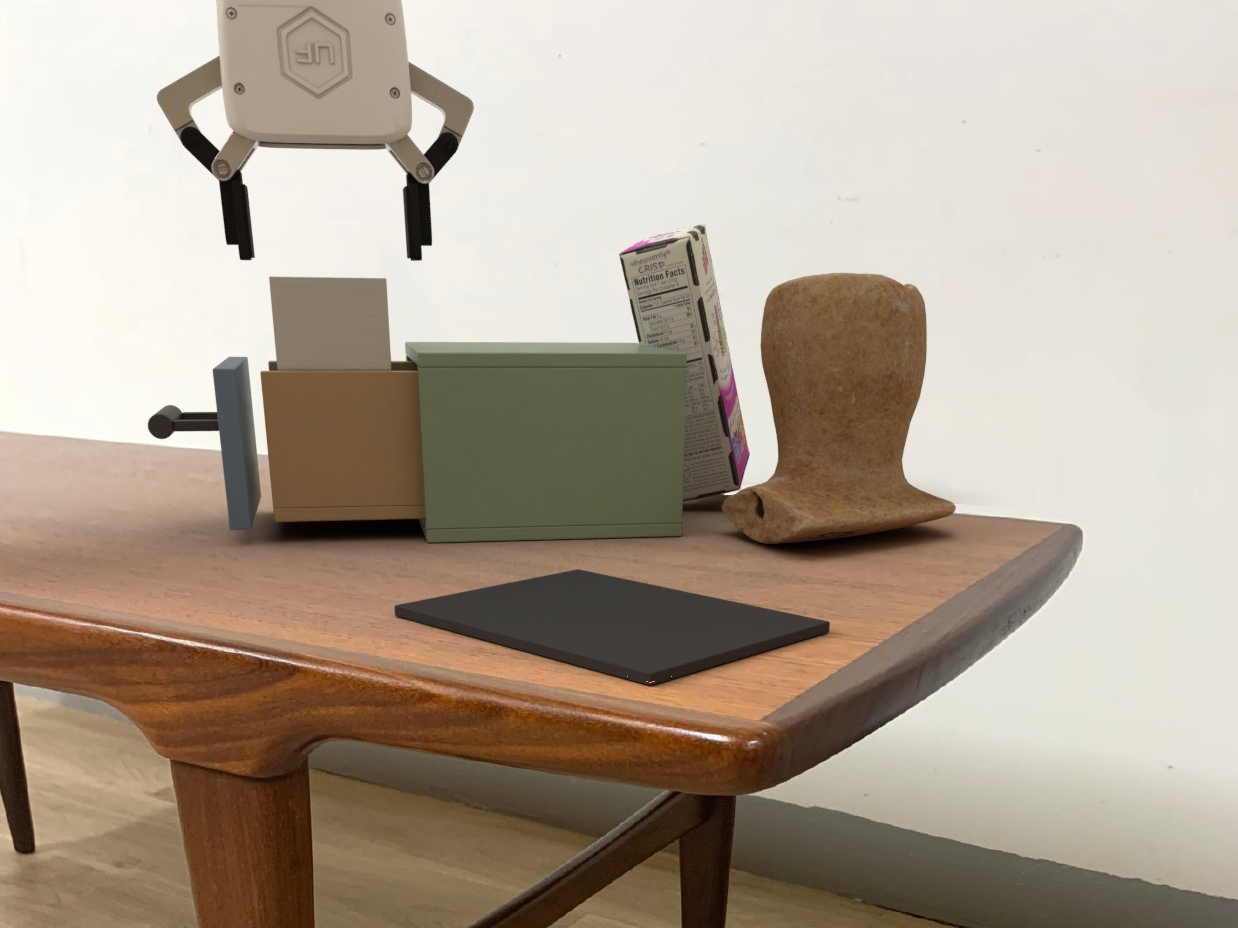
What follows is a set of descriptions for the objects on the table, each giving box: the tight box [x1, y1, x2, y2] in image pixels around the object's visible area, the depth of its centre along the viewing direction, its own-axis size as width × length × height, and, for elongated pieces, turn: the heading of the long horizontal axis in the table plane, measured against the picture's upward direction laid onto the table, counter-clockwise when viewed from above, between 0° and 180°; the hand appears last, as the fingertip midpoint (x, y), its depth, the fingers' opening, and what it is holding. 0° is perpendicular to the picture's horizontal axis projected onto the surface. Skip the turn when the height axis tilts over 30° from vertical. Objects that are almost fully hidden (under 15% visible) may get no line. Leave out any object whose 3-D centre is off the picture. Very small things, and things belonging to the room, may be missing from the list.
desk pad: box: [394, 568, 831, 686], centre depth 59 cm, size 16×12×1 cm
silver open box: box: [268, 276, 392, 371], centre depth 79 cm, size 6×9×12 cm
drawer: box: [147, 356, 425, 531], centre depth 80 cm, size 19×12×9 cm, turn 102°
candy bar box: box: [618, 223, 751, 503], centre depth 89 cm, size 11×5×16 cm, turn 172°
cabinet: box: [404, 341, 687, 544], centre depth 82 cm, size 16×14×11 cm
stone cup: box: [721, 272, 957, 545], centre depth 78 cm, size 15×12×15 cm
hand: (332, 260), depth 76 cm, fingers open, 9 cm apart
